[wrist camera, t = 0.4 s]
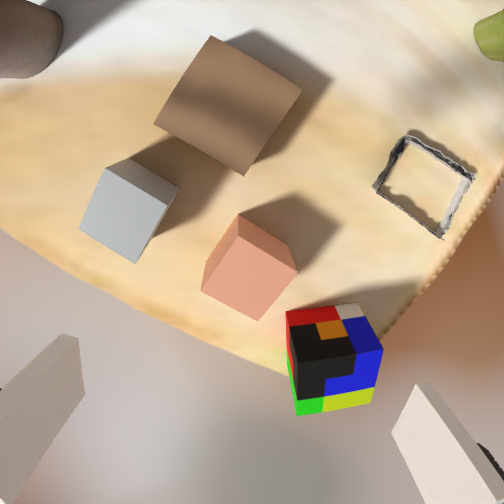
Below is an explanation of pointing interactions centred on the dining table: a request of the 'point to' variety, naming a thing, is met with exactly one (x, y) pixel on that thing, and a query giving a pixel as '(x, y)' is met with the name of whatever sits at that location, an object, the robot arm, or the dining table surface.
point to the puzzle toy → (331, 358)
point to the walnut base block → (227, 105)
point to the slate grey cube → (127, 208)
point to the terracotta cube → (248, 269)
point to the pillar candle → (27, 38)
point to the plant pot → (491, 36)
